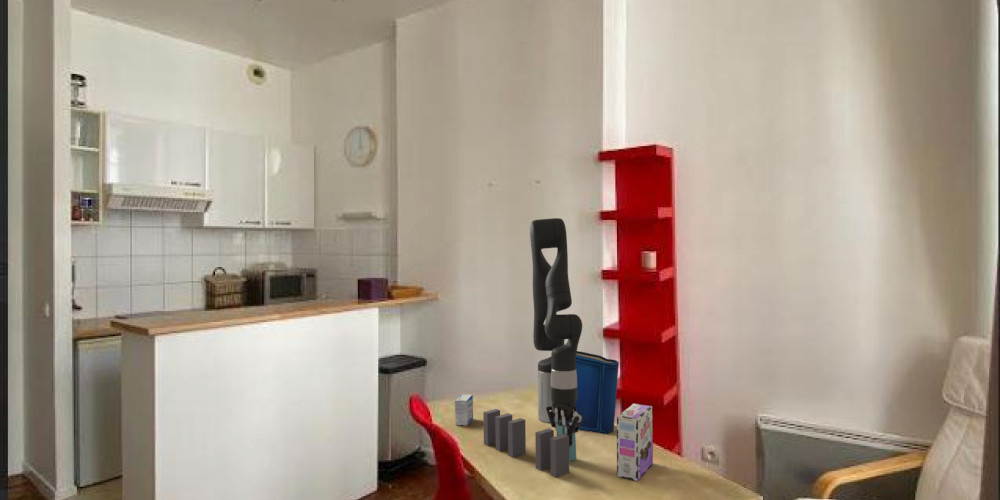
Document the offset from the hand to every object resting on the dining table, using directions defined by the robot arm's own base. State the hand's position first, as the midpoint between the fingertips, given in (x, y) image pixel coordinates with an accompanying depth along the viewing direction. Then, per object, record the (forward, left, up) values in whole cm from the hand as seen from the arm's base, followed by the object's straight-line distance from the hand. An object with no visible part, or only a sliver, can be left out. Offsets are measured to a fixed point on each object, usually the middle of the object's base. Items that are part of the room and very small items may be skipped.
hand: (564, 444), depth 160 cm
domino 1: (+16, -20, -5) cm, 26 cm away
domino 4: (+7, +2, -5) cm, 9 cm away
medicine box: (+20, -42, -5) cm, 47 cm away
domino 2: (+14, -14, -5) cm, 20 cm away
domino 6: (+5, +8, -5) cm, 10 cm away
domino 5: (-1, 0, -5) cm, 5 cm away
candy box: (-16, +12, -5) cm, 20 cm away
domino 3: (+11, -9, -5) cm, 15 cm away
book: (-17, -25, -5) cm, 31 cm away
